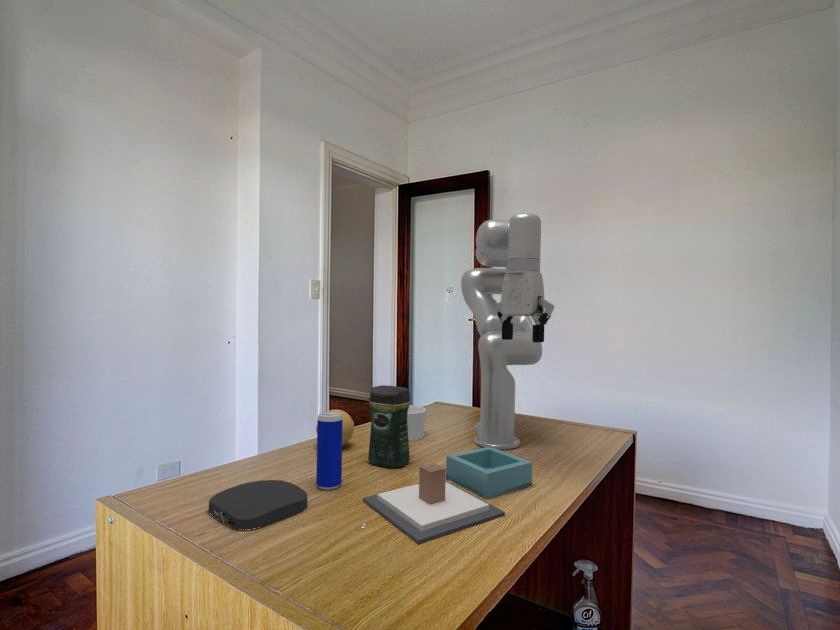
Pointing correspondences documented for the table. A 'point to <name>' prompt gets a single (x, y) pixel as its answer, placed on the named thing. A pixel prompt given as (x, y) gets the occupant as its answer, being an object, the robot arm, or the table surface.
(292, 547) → the table surface
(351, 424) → the stress ball
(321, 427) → the beverage can
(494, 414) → the robot arm
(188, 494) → the table surface
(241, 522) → the media streaming box
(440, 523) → the lid
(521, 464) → the square tray
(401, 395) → the coffee jar
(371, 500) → the mat
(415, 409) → the mug
